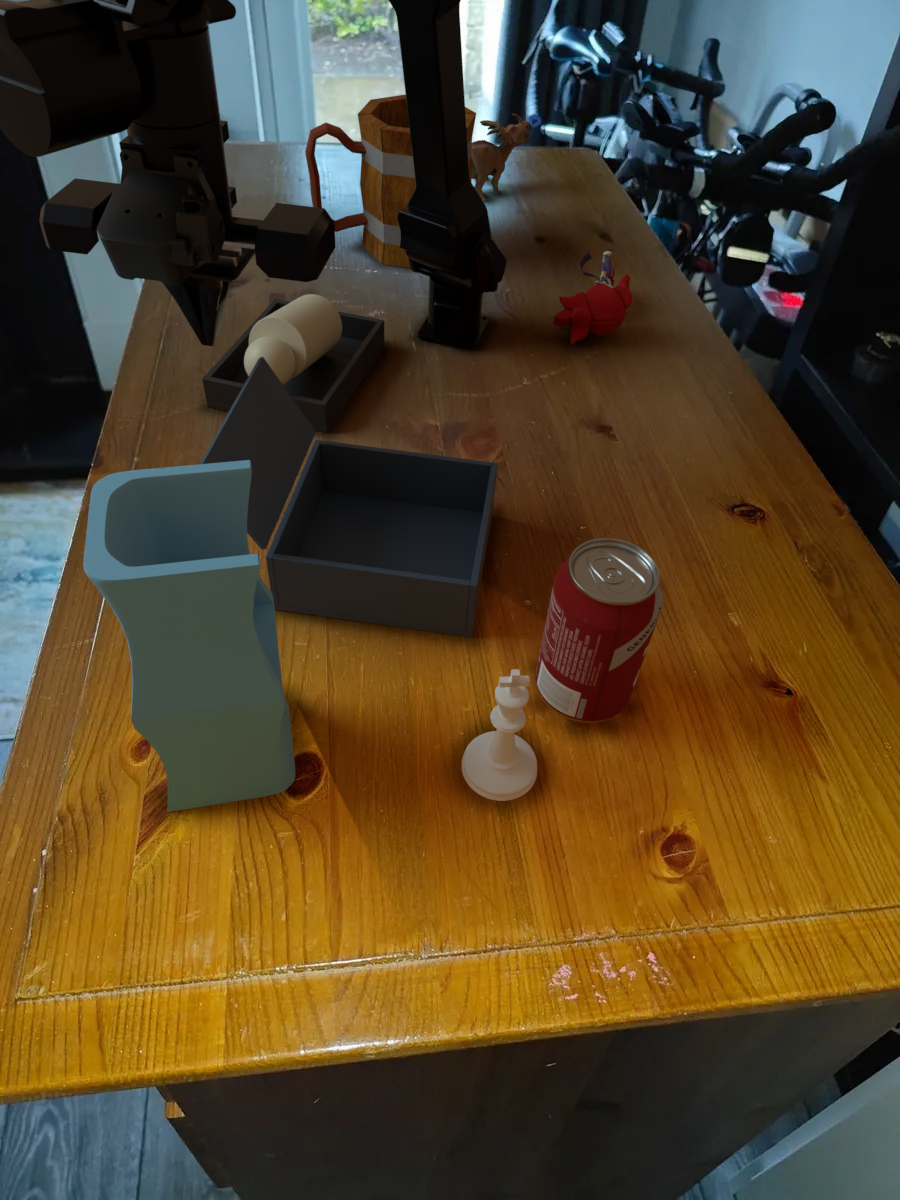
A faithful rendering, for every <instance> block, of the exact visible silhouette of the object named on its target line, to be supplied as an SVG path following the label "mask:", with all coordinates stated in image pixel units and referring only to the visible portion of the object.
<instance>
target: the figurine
mask: <svg viewBox="0 0 900 1200" xmlns="http://www.w3.org/2000/svg"><path fill="white" fill-rule="evenodd" d="M613 254H614V250H612V249H605V250H604V251H603V252H602V255H603V256H602V260H601V267H600V276H597V275H595V274H593V273H592V272H588V271H584V270H583V268H584V266H585V265H586V263H587V262H588V261H590V260H591V259H593V257H592V255H591V249H588V250H587V251H586V253H585V254H584V255H583V256H582V258H581V260H580V261H579V263H578V267H579V270H580V271H581V273H582V274H583V275H584V276H585V277H586V276H587V277H590V278H591V277H592V278H595V279H596V280H595V284H596V285H593V286H591V287H590V288H588V289H587V291H586V292H584V291H580V292H577V293H575V294H572V295H571V296H562V295H558V297H559V298H558V299H559V302H560V304H561V306H562V307H563V308H564V309H562V310H560V311H558V312H557V313H556V314H555V315H554V316H553V325H554V326H556V327H559V328H562V327H563V328H564V327H566V326H567V327H568V328H569V329H570V342H569V343H570V345H574V344H575V343H576V342H579V341H582V340H584V339H585V338H587V337H588V335H589V333H590V332H591V333H592V334H594V335H596V336H597V337H598V336H599V337H601V336H609V335H610V334H612V333H614V332H616V331H617V330H618V329H619V328H620V327H621V326H622V325H623V323H624V322H625V319H626V317H627V309H629V307H631V305H632V303H633V302H634V298H633V297H634V296H633V293H632V291H631V289H630V287H631V286H630V283H631V277H630V275H629V274H628V273H627V274H625V275H624V276H623V277H622V278H620V280H619V281H618V283H617V284H616V285H615V287H614V284H615V279H614V277H615V275H616V274H615V273H616V271H615V269H616V266H615V265H613V264H612V259H611V256H613ZM612 266H613V268H612Z"/></svg>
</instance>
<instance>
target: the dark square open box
mask: <svg viewBox="0 0 900 1200" xmlns="http://www.w3.org/2000/svg"><path fill="white" fill-rule="evenodd" d="M498 465H499V462H492V461H485V460H478V459H469V458H462V457H461V458H460V457H453V456H445V455H440V454H439V455H438V454H431V453H423V452H415V451H408V450H401V449H400V450H399V449H392V448H384V447H376V446H370V445H369V446H368V445H367V446H366V445H361V444H353V443H345V442H338V441H329V440H324V439H323V440H321V439H314V442H313V444H312V446H311V449H310V452H309V455H308V456H307V458H306V461H305V464H304V465H303V468H302V470H301V472H300V475H299V478H298V480H297V482H296V485H295V487H294V489H293V492H292V494H291V497H290V498H289V501H288V503H287V506H286V508H285V510H284V513H283V515H282V518H281V520H280V523H279V524H278V527H277V529H276V532H275V534H274V536H273V539H272V541H271V544H270V545H269V548H268V550H267V552H266V555H265V561H266V568H267V574H268V575H267V576H268V581H269V587H270V588H269V589H270V591H271V592H272V593H273V600H274V607H275V611H282V612H290V613H296V614H303V615H311V616H316V617H324V618H333V619H338V620H339V619H340V620H345V621H351V622H353V621H354V622H360V623H368V624H374V625H381V626H387V627H388V626H389V627H395V628H403V629H409V630H414V631H415V630H416V631H424V632H430V633H438V634H445V635H452V636H459V637H466V638H472V637H473V632H474V626H475V621H476V614H477V608H478V602H479V597H480V596H479V595H480V592H481V591H480V590H481V584H482V577H483V571H484V567H485V562H486V561H485V560H486V555H487V547H488V542H489V535H490V531H491V523H492V517H493V511H494V502H495V493H496V483H497V477H498V476H497V475H498V467H499V466H498Z"/></svg>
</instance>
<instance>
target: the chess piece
mask: <svg viewBox="0 0 900 1200" xmlns="http://www.w3.org/2000/svg"><path fill="white" fill-rule="evenodd" d="M530 682H531V681H530V676H529V675H521V672H520V668H517V669H516V668H515V669H511V670H510V676H498V684H497V686H496V688H495V689H494V698H495V702H496V704H497V705H495V706H494V707H493V709H492V710H491V712H490V715H489V720H490V723H491V725H492V726H493V727H494V729H496V730H491V731H487V732H484V733H481V734H479V735H477V736H476V737H474V738H473V739H472V740H471V741H470V742H469V743H468V745H467V746H466V749H465V750H464V753H463V755H462V759H461V773H462V776H463V779H464V780H465V782H466V784H467V785H468V786H469V788H470V789H471V790H473V791H474V793H476V794H477V795H479V796H481V797H483V798H484V799H485V798H486V799H488V800H492V801H495V802H496V801H497V802H506V801H513V800H516V799H518V798H521V797H523V796H524V795H526V794H527V793H528V792H529V791H530V790H531V789H532V788H533V786H534V784H535V783H536V780H537V776H538V760H537V756H536V753H535V751H534V749H533V748H532V747H531V745H530V744H529V743H528V742H527V741H526V740H525V739H523V738H522V737H521V736H519V735H517V734H516V733H517V732H519V731H521V730H522V729H523V728H524V727H525V725H526V721H527V720H526V714H525V712H524V711H525V710H524V708H525V707H526V705H527V703H528V702H529V700H530V692H529V690H528V687H530Z"/></svg>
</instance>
